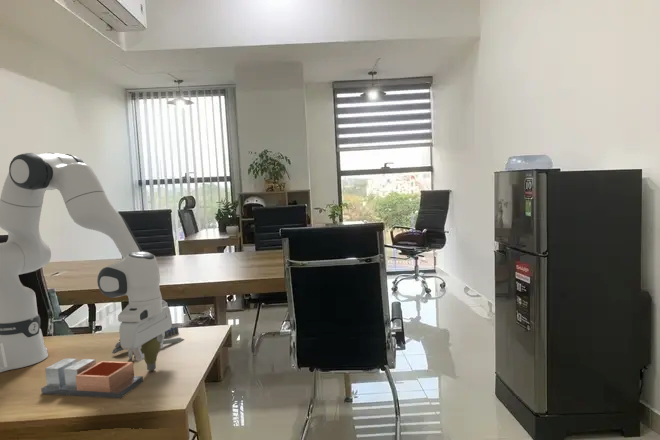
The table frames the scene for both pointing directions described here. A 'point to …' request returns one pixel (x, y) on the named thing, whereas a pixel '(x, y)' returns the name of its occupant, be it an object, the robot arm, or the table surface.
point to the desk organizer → (90, 378)
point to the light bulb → (150, 353)
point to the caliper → (165, 341)
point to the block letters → (167, 334)
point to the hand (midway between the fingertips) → (150, 353)
